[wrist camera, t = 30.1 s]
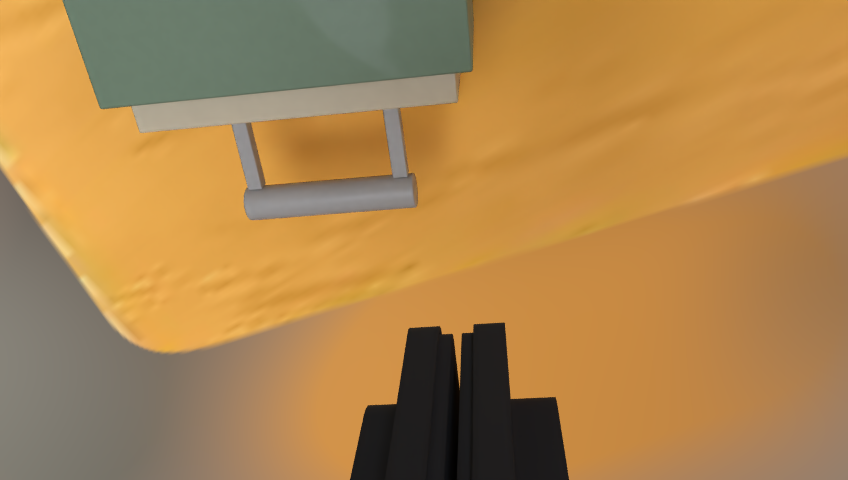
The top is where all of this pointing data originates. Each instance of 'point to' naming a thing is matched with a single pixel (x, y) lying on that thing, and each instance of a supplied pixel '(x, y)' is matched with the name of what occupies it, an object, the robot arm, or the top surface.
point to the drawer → (308, 103)
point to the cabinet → (263, 45)
